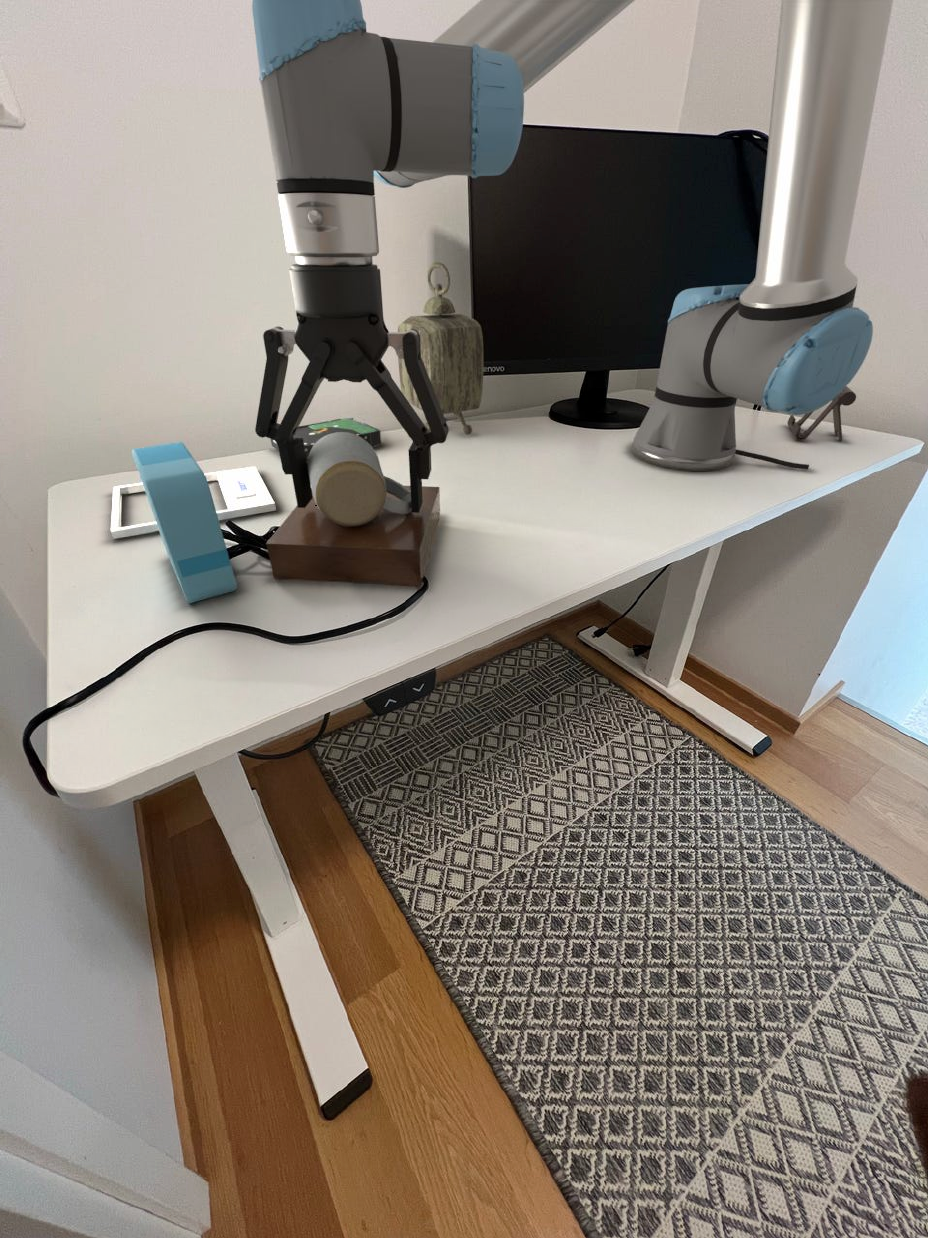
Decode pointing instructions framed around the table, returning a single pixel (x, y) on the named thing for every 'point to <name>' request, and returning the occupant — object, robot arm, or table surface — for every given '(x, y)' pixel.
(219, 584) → the blue rounded block
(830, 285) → the robot arm
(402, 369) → the tabletop clock
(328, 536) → the walnut riser
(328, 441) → the ceramic mug
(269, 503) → the photo frame
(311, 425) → the disk drive
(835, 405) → the tablet stand
